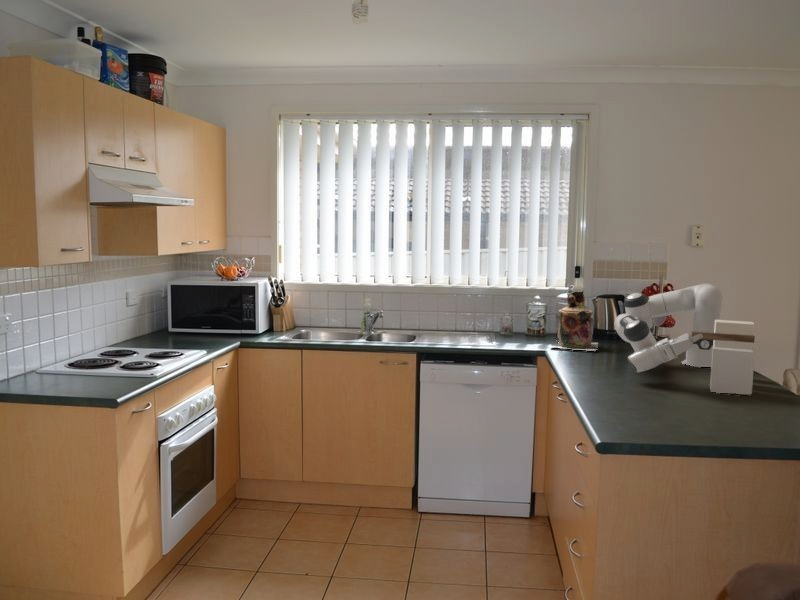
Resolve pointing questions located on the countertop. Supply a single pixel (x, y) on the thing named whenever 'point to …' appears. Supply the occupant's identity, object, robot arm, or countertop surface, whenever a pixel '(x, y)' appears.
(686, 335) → the robot arm
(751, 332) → the tall stand
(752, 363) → the low stand
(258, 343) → the countertop surface
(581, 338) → the cookie jar
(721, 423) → the countertop surface
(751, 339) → the bar
